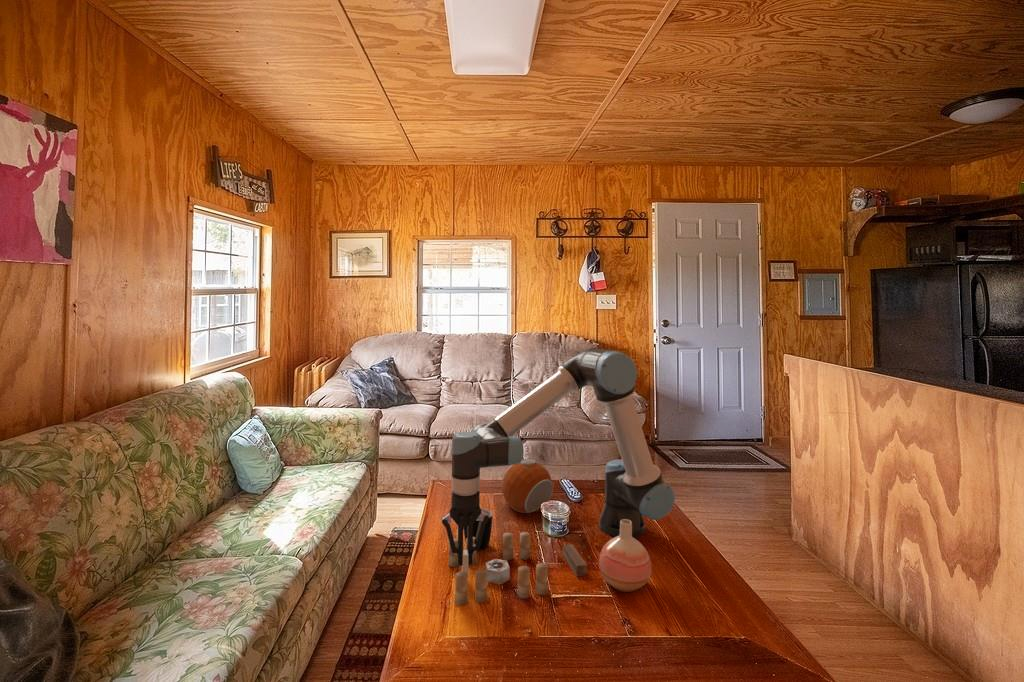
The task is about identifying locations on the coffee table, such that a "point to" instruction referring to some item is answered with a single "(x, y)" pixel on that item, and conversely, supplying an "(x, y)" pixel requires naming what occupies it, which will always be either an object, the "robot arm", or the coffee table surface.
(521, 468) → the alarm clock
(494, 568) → the nut
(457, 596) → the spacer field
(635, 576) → the vase
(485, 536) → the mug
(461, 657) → the coffee table surface
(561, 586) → the coffee table surface
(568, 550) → the rail
